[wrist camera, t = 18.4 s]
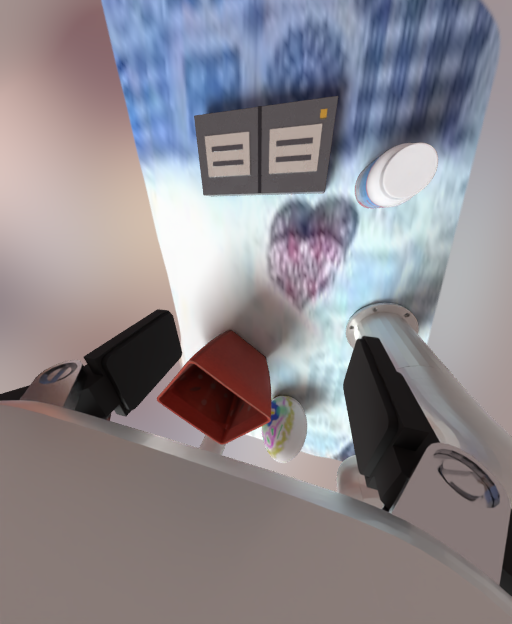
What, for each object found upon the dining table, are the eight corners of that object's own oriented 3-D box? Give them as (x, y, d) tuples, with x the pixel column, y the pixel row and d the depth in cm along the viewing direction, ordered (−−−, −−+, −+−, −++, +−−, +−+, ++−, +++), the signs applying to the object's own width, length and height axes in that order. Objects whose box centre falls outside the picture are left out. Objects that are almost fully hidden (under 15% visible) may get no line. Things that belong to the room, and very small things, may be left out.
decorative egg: (284, 384, 53) (276, 439, 40) (316, 408, 54) (318, 469, 41) (259, 400, 59) (244, 453, 46) (288, 422, 60) (282, 479, 48)
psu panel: (335, 107, 26) (338, 94, 23) (323, 193, 30) (324, 191, 28) (203, 123, 30) (192, 114, 27) (211, 196, 35) (202, 195, 32)
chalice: (228, 405, 64) (202, 466, 49) (219, 391, 62) (189, 450, 47) (246, 404, 62) (225, 468, 46) (238, 389, 59) (212, 452, 44)
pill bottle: (354, 213, 31) (374, 214, 21) (353, 169, 28) (375, 147, 19) (398, 201, 29) (442, 197, 19) (401, 153, 26) (453, 119, 17)
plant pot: (243, 389, 59) (221, 447, 44) (194, 352, 56) (154, 400, 42) (284, 359, 49) (273, 421, 34) (227, 313, 46) (190, 358, 32)
